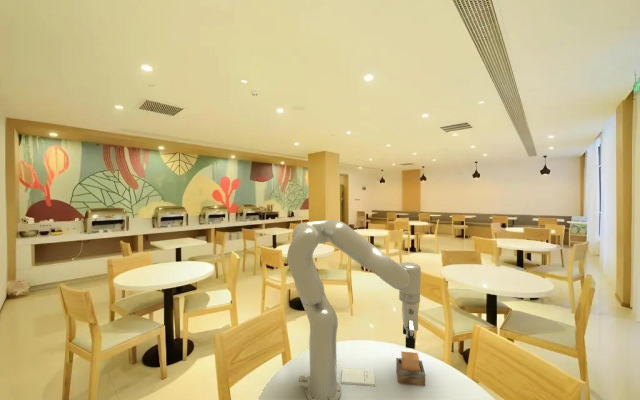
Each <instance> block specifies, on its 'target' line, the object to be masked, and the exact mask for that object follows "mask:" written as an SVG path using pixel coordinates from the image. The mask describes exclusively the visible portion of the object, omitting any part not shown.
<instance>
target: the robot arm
mask: <svg viewBox="0 0 640 400" xmlns="http://www.w3.org/2000/svg"><path fill="white" fill-rule="evenodd" d="M291 236H292V241H291V242H290V245H289V247H288V251H287V257H286V259H287V264H288V267H289V270H290V272H291V276H292V279H293V281H294V286H295V287H294V288H295V289H296V292H297V294H298V297H299V299H300V301H301V304H302V306H303V308H304V311H305V313H306V317H307V319H308V323H309V340H308V342H309V343H308V345H309V347H308V348H309V375H307V376H304V375H299V376H298V382H299V386H300V387H303V388H305V396H306V398H307V399H308V400H340V398H341V396H342V387H341V385H340V383H339V382H338V379H337V378H338V376H337V369H338V368H337V366H338V365H337V364H338V363H337V361H338V360H337V333H338V327H339V323H338V322H339V321H338V315H337V313H336V311H335V309H334V307H333V306H332V304H331V303H330V301H329V300H328V298H327V296H326V292H325V286H324V282H323V281H322V278H321V277H320V275H319V272H318V271H317V268H316V265H315V262H314V258H313V256H314V251H315V250H316V248H317V247H318V245H319V244H320V243H321V244H322V243H328V242H330V243H331V244H332V245H334V246H335V247H336V248H337V249H338V250H339V251H341V252H343V253H344V254H345V255H346V256H348V257H350V259H352V260H353V261H354V262H356V263H357V264H359V265H360V266H362V267H363V268H365V269H367V270H369V271H370V272H372V273H374V275H376V276H377V277H379V278H380V280H382V281H383V282H385V284H388V285H389V286H390V287H392V288H393V289H395V290H398V292H399V294H398V300H399V301H400V302H401V317H402V323H403V324H402V334H403V335H405V348H406V349H412V350H415V349H416V335H415V333H416V332H417V331H419V308H418V307H419V305H418V304H419V303H420V302H421V275H422V273H421V271H422V270H421V266H420V265H419V263H418V264H417V263H414V262H407V261H406V262H401V263H400V262H396V261H395V260H393V259H392V258H391V257H390V256H388V255H386V254H385V253H384V252H382V251H381V250H380V249H379V248H378V247H377V246H375V245H374V244H372V243H371V242H370V241H368V239H366V238H364V237H363V236H362V235H361V234H359V233H358V232H357V231H355V230H354V228H352V227H351V226H349V225H348V224H347V223H346V222H343V221H341V220H338V219H326V220H317V221H309V222H302V223H299V224H297V225H296V226H294V228H293V230H292V235H291ZM415 331H416V332H415Z"/></svg>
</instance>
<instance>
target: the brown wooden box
mask: <svg viewBox="0 0 640 400" xmlns="http://www.w3.org/2000/svg"><path fill="white" fill-rule="evenodd" d="M395 359H396V362H395V364H396V366H395V369H396V378H397V383H398V384H405V385H412V386H413V385H415V386H421V387H426V372H425V369H424V365H423V361H422V360H420V359H419V372H415V371H406V370H402V366H401V358H400V357H396V358H395Z"/></svg>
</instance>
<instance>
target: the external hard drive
mask: <svg viewBox="0 0 640 400" xmlns="http://www.w3.org/2000/svg"><path fill="white" fill-rule="evenodd" d="M375 377H376V376H375V370H374V369H367V368H353V367H352V368H347V367H342V368H341V385H346V386H347V385H349V386H351V385H352V386H361V387H362V386H365V387H376V386H377V384H376V379H375Z"/></svg>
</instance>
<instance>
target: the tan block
mask: <svg viewBox="0 0 640 400" xmlns="http://www.w3.org/2000/svg"><path fill="white" fill-rule="evenodd" d="M419 360H420V357H419V353H418V352H412V351H411V352H410V351H403V350H401V366H402V370H406V371H415V372H419Z"/></svg>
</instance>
